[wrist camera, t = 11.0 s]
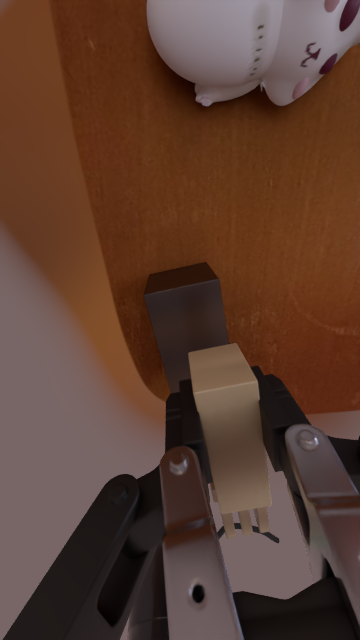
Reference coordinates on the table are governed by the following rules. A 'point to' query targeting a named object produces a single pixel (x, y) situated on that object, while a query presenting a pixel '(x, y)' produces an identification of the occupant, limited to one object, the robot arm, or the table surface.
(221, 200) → the table surface
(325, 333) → the table surface
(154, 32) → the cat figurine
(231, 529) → the fork
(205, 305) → the stand
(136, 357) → the table surface
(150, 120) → the table surface
